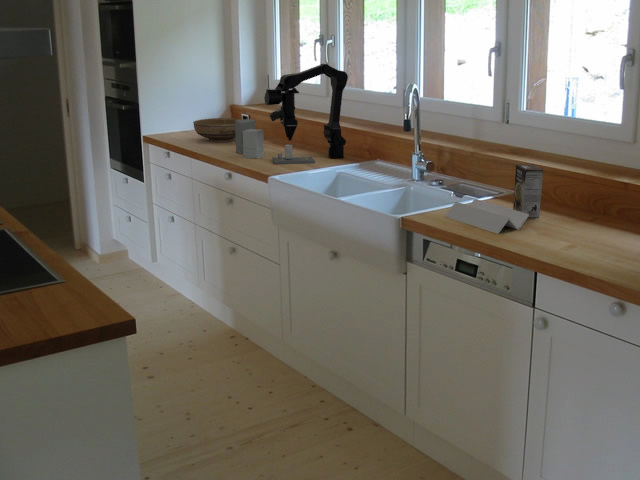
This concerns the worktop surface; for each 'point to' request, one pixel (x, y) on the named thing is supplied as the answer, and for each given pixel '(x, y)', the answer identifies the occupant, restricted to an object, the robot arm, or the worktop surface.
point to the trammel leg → (288, 151)
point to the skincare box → (239, 128)
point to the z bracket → (487, 215)
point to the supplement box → (253, 143)
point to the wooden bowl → (216, 129)
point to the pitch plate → (292, 160)
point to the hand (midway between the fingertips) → (288, 138)
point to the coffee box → (528, 189)
